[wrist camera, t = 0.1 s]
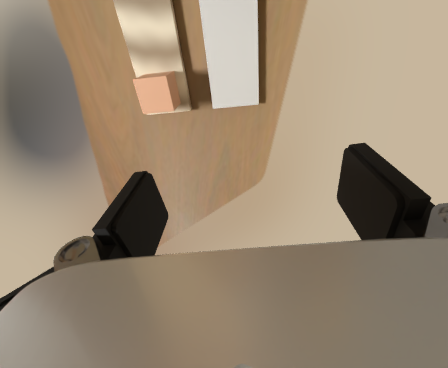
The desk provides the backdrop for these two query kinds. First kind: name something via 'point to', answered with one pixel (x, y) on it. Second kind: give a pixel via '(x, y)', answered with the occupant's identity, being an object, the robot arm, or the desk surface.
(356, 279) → the robot arm
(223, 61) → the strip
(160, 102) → the cube
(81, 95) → the desk surface
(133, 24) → the cube strip
